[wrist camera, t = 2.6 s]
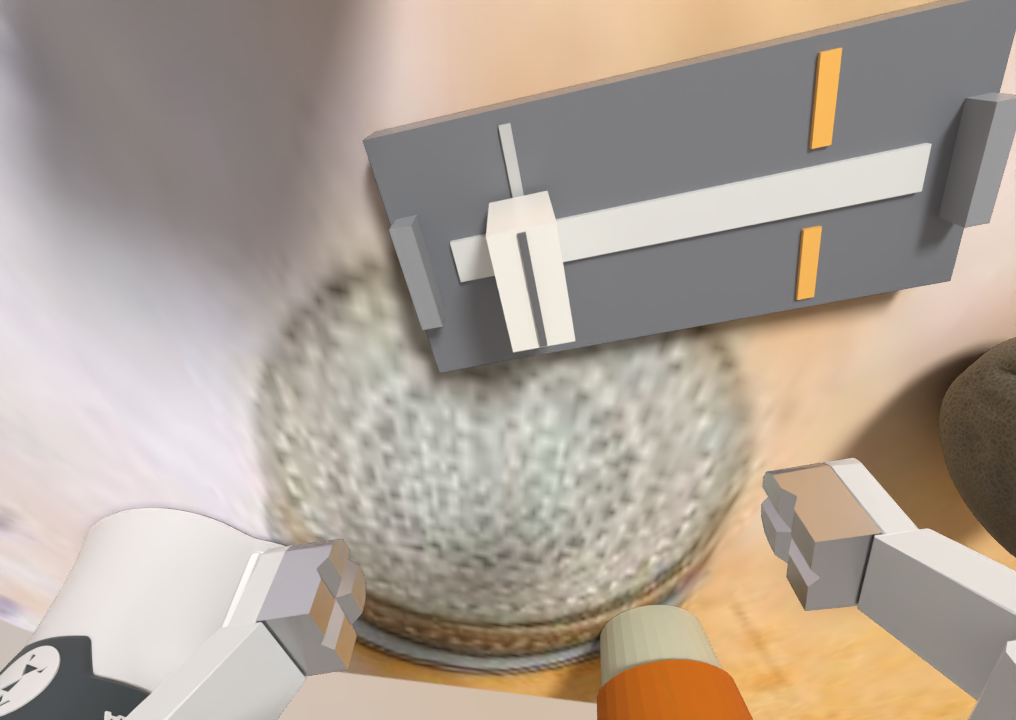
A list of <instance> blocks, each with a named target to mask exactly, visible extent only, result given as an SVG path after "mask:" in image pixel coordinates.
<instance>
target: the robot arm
mask: <svg viewBox="0 0 1016 720" xmlns="http://www.w3.org/2000/svg"><path fill="white" fill-rule="evenodd" d="M763 489H764V490H765V492H766V494H767V496H768V497H767V498H766V499H765V501H764V502H763V503H762V504H761V518H762V523H763V528H764V532H765V535H766V537H767V540H768V542H769V544H770V546H771V548H772V550H773V552H774V554H775V555H776V556H777V557H779V558H780V559H782V560H783V561H785V562H787V563H788V566H787V576H786V577H787V579H788V581H789V582H790V584H791V586H792V588H793V590H794V592H795V593H796V595H797V597H798V599H799V601H800V603H801V605H802V606H803V608H804V610H805V611H810V610H820V609H830V608H840V607H850V606H858V607H857V609H859V610H860V611H861V612H863V613H864V614H865V615H866V616H868V617H869V618H870V619H872V620H873V621H874V622H876V623H877V624H878V625H879V626H881V627H882V628H883V629H885V630H886V631H887V632H889V633H890V634H891V635H892V636H894V637H895V638H896V639H898V640H899V641H900V642H902V643H903V644H904V645H905V646H907V647H908V648H909V649H911V650H912V651H913V652H915V653H916V654H917V655H918V656H920V657H921V658H922V659H924V660H925V661H926V662H928V663H929V664H930V665H931V666H933V667H934V668H935V669H937V670H938V671H939V672H941V673H942V674H943V675H944V676H946V677H947V678H948V679H950V680H951V681H952V682H954V683H955V684H956V685H957V686H959V687H960V688H961V689H963V690H964V691H965V692H967V693H968V694H969V695H970V696H972V697H973V698H974V699H976V700H977V702H976V704H975V706H974V708H973V710H972V711H971V713H970V715H969V717H968V719H967V720H1016V571H1014V570H1012V569H1010V568H1008V567H1006V566H1004V565H1002V564H1000V563H998V562H996V561H994V560H992V559H990V558H988V557H986V556H984V555H982V554H980V553H978V552H976V551H974V550H972V549H970V548H968V547H966V546H964V545H962V544H960V543H958V542H956V541H954V540H952V539H950V538H947V537H945V536H943V535H941V534H939V533H937V532H935V531H933V530H931V529H929V528H926V529H918V528H917V526H916V525H915V524H914V523H913V522H912V521H911V519H910V518H909V517H908V516H907V515H906V514H905V513H904V511H903V510H902V509H901V508H900V507H899V506H898V505H897V503H896V502H895V501H894V500H893V499H892V498H891V496H890V495H889V494H888V493H887V492H886V491H885V490H884V488H883V487H882V486H881V485H880V484H879V483H878V481H877V480H876V479H875V478H874V477H873V476H872V475H871V473H870V472H869V471H868V470H867V469H866V468H865V466H864V465H863V464H862V463H861V462H860V461H859V460H857V459H855V458H848V459H842V460H836V461H829V462H824V463H816V464H810V465H804V466H798V467H792V468H786V469H780V470H774V471H768V472H766V473H765V475H764V477H763ZM349 553H350V549H349V547H348V545H347V544H346V542H345V541H344V539H335V540H328V541H320V542H312V543H304V544H296V545H291V546H284V545H281V544H277V543H273V542H269V541H264V540H259V539H256V538H253V537H251V536H248V535H246V534H244V533H242V532H240V531H238V530H236V529H234V528H232V527H230V526H228V525H226V524H224V523H222V522H219V521H217V520H214V519H211V518H209V517H205V516H202V515H199V514H195V513H191V512H186V511H181V510H175V509H166V508H138V509H130V510H125V511H121V512H117V513H114V514H111V515H109V516H107V517H105V518H103V519H101V520H100V521H98V522H97V523H96V524H95V525H93V526H92V528H91V529H90V530H89V531H88V533H87V535H86V537H85V539H84V542H83V545H82V547H81V550H80V552H79V554H78V556H77V559H76V561H75V563H74V565H73V567H72V569H71V571H70V573H69V575H68V577H67V578H66V580H65V582H64V584H63V586H62V588H61V589H60V591H59V593H58V595H57V596H56V598H55V600H54V601H53V603H52V605H51V606H50V608H49V610H48V611H47V613H46V614H45V616H44V618H43V619H42V621H41V622H40V624H39V626H38V627H37V629H36V630H35V632H34V633H33V635H32V636H31V638H30V639H29V641H28V642H27V644H26V645H25V646H24V648H23V649H22V651H21V652H20V653H19V654H17V656H16V657H15V658H13V660H11V662H10V663H8V665H7V666H6V667H5V668H4V669H3V670H2V671H1V672H0V720H277V719H278V718H279V716H280V715H281V714H282V712H283V711H284V709H285V708H286V707H287V705H288V704H289V702H290V701H291V700H292V698H293V697H294V695H295V694H296V693H297V691H298V690H299V688H300V687H301V686H302V684H303V683H304V681H305V680H306V677H305V676H311V675H318V674H324V673H330V672H336V671H343V670H348V669H349V665H350V661H351V657H352V653H353V649H354V645H355V641H356V637H357V634H356V632H355V630H354V628H353V626H352V624H353V623H354V622H355V621H356V620H357V618H358V617H359V616H360V615H361V614H362V612H363V608H364V603H365V599H366V583H365V579H364V575H363V572H362V570H361V568H360V566H359V564H357V563H355V562H353V561H352V560H350V559H348V556H349Z"/></svg>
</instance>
